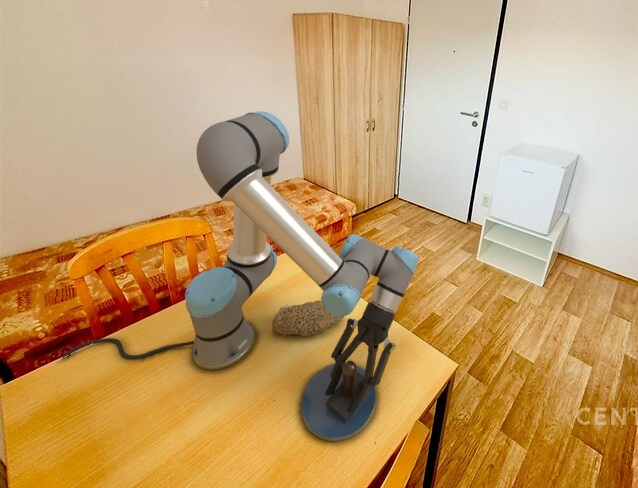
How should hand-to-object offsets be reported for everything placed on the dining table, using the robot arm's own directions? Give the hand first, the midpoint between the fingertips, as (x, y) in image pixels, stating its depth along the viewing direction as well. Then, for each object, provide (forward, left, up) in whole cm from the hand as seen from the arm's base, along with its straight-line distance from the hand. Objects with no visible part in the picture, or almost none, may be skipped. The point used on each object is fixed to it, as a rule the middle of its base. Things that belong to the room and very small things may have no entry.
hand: (339, 402), depth 74 cm
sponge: (-14, +25, -5) cm, 29 cm away
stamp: (+2, +3, -3) cm, 5 cm away
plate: (-1, +3, -4) cm, 5 cm away
